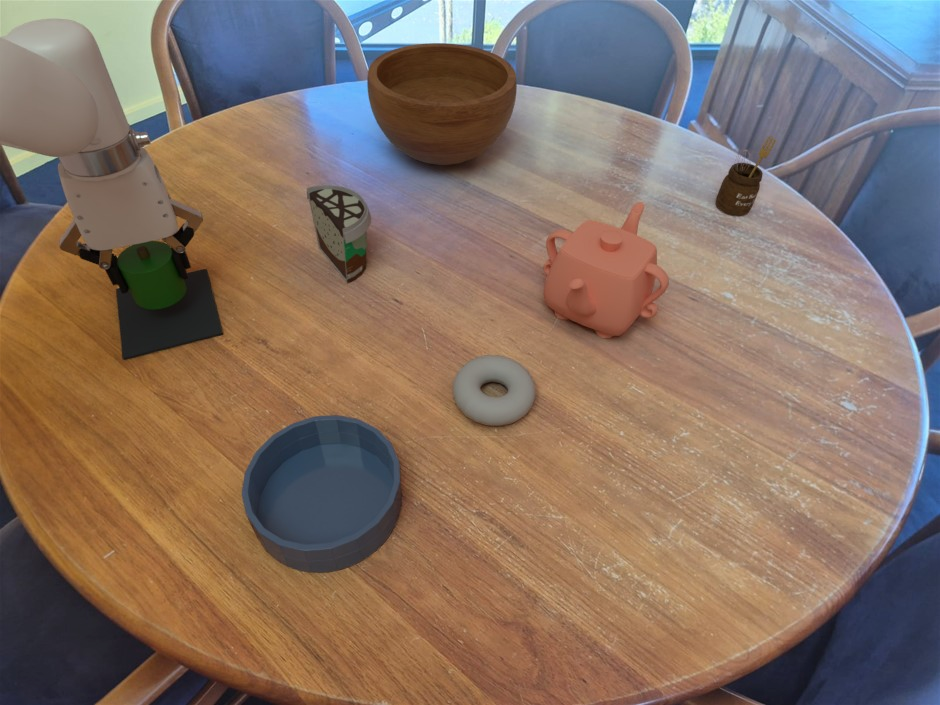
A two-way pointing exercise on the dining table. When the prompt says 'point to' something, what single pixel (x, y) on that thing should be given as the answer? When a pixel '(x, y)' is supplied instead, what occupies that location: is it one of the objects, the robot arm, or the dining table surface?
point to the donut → (494, 408)
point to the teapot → (603, 275)
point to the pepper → (151, 274)
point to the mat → (169, 319)
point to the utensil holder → (741, 185)
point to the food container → (341, 227)
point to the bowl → (441, 100)
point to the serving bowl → (323, 493)
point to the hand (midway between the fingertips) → (154, 278)
